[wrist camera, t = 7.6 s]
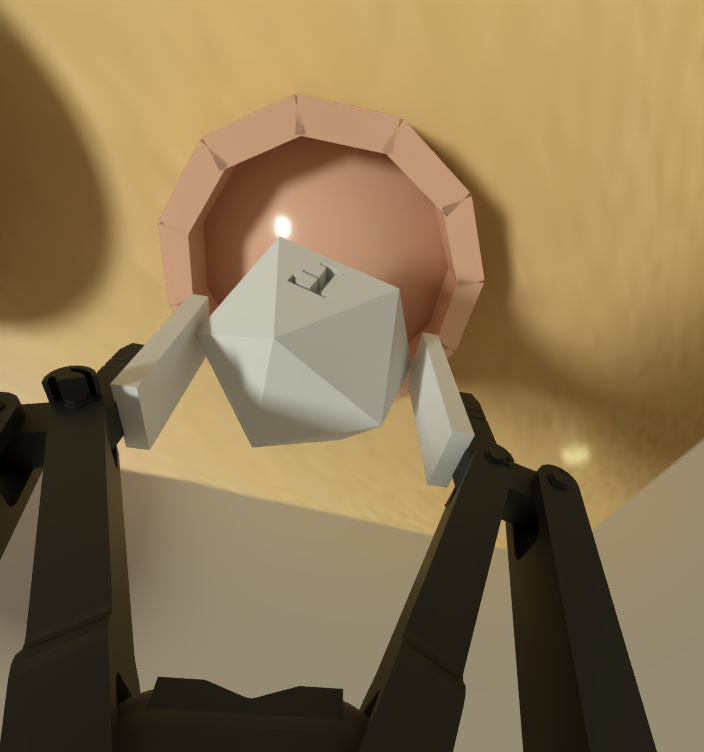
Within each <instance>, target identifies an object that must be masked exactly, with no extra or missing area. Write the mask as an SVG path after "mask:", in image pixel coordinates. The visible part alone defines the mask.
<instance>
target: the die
mask: <svg viewBox="0 0 704 752" xmlns="http://www.w3.org/2000/svg"><path fill="white" fill-rule="evenodd" d="M196 337H197V339H198V341H199V343H200V345H201V347H202V348H203V350H204V352H205V354H206V356H207V358H208V360H209V362H210V364H211V366H212V368H213V370H214V372H215V374H216V376H217V378H218V380H219V382H220V384H221V386H222V388H223V390H224V392H225V394H226V396H227V398H228V400H229V402H230V404H231V406H232V408H233V410H234V412H235V414H236V416H237V418H238V420H239V422H240V424H241V426H242V428H243V430H244V432H245V434H246V436H247V438H248V440H249V442H250V444H251V446H252V447H263V446H275V445H287V444H299V443H311V442H323V441H334V440H341V439H344V438H347V437H350V436H353V435H356V434H359V433H362V432H365V431H368V430H371V429H374V428H377V427H380V426H381V425H382V423H383V421H384V419H385V417H386V415H387V413H388V411H389V409H390V407H391V405H392V403H393V401H394V399H395V397H396V395H397V393H398V391H399V389H400V387H401V385H402V383H403V381H404V379H405V377H406V375H407V373H408V371H409V369H410V367H411V365H412V364H411V358H410V352H409V346H408V339H407V333H406V327H405V321H404V315H403V309H402V302H401V296H400V290H399V288H397V287H395V286H392V285H390V284H388V283H385V282H383V281H381V280H378V279H376V278H374V277H372V276H369V275H367V274H365V273H362V272H360V271H358V270H355V269H353V268H351V267H349V266H346V265H344V264H342V263H339V262H337V261H335V260H333V259H330V258H328V257H326V256H323V255H321V254H319V253H316V252H314V251H312V250H310V249H307V248H305V247H303V246H300V245H298V244H296V243H293V242H291V241H289V240H287V239H284V238H282V237H280V236H279V237H278V238H277V240H276V241H275V242H274V243H273V244H272V245H271V247H270V248H269V249H268V250H267V251H266V252H265V253H264V255H263V256H262V257H261V258H260V259H259V260H258V261H257V263H256V264H255V265H254V266H253V267H252V268H251V270H250V271H249V272H248V273H247V274H246V275H245V276H244V278H243V279H242V280H241V281H240V282H239V283H238V285H237V286H236V287H235V288H234V289H233V290H232V291H231V293H230V294H229V295H228V296H227V297H226V298H225V300H224V301H223V302H222V303H221V304H220V305H219V306H218V308H217V309H216V310H215V311H214V312H213V313H212V314H211V316H210V317H209V318H208V319H207V320H206V321H205V323H204V324H203V325H202V326H201V327H200V328H199V329H198V331H197V332H196Z"/></svg>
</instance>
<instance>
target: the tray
mask: <svg viewBox="0 0 704 752" xmlns="http://www.w3.org/2000/svg"><path fill="white" fill-rule="evenodd" d="M469 193H470V192H469V191H468V190H467V189H466V188H465V186H464V185H463V184H462V183H461V182H460V181H459V180H458V179H457V178H456V176H455V175H454V174H453V173H452V172H451V171H450V170H449V169H448V168H447V166H446V165H445V164H444V163H443V162H442V161H441V160H440V159H439V157H438V156H437V155H436V154H435V153H434V152H433V151H432V150H431V149H430V147H429V146H428V145H427V144H426V143H425V142H424V141H423V140H422V139H421V137H420V136H419V135H418V134H417V133H416V132H415V131H414V130H413V129H412V127H411V126H410V125H409V124H408V123H407V122H406V121H405V120H404V119H400V117H398V116H393V115H389V114H385V113H380V112H376V111H371V110H367V109H362V108H358V107H354V106H349V105H345V104H340V103H336V102H331V101H327V100H323V99H318V98H314V97H309V96H305V95H300V94H298V95H291V96H288V97H286V98H284V99H282V100H280V101H278V102H276V103H273V104H271V105H269V106H267V107H265V108H263V109H261V110H258V111H256V112H254V113H252V114H250V115H248V116H246V117H243V118H241V119H239V120H237V121H235V122H233V123H231V124H228V125H226V126H224V127H222V128H220V129H218V130H216V131H213V132H211V133H209V134H207V135H205V136H203V139H201V140H199V141H198V143H197V145H196V147H195V149H194V151H193V153H192V155H191V157H190V159H189V161H188V163H187V165H186V167H185V169H184V171H183V173H182V175H181V177H180V179H179V181H178V183H177V185H176V187H175V189H174V191H173V193H172V195H171V196H170V198H169V200H168V202H167V204H166V206H165V208H164V210H163V212H162V214H161V216H160V218H159V220H160V221H161V222H160V223H158V227H159V235H160V243H161V251H162V259H163V267H164V275H165V283H166V291H167V299H168V304H171V305H170V308H171V310H172V311H173V313H174V312H175V311H176V310H177V309H178V307H179V306H180V305H181V304H182V303H183V302H184V301H185V300H186V298H187V297H188V296H189V295H190V294H196V295H202V296H208V300H209V317H210V316H211V314H212V313H213V312H214V311H215V310H216V309H217V308H218V306H219V305H220V304H221V303H222V302H223V301H224V300H225V298H226V297H227V296H228V295H229V294H230V293H231V291H232V290H233V289H234V288H235V287H236V286H237V285H238V283H239V282H240V281H241V280H242V279H243V278H244V276H245V275H246V274H247V273H248V272H249V271H250V270H251V268H252V267H253V266H254V265H255V264H256V263H257V261H258V260H259V259H260V258H261V257H262V256H263V255H264V253H265V252H266V251H267V250H268V249H269V248H270V247H271V245H272V244H273V243H274V242H275V241H276V240H277V238H278V237H279V236H280V237H282V238H284V239H287V240H289V241H291V242H293V243H296V244H298V245H300V246H303V247H305V248H307V249H310V250H312V251H314V252H316V253H319V254H321V255H323V256H326V257H328V258H330V259H333V260H335V261H337V262H339V263H342V264H344V265H346V266H349V267H351V268H353V269H355V270H358V271H360V272H362V273H365V274H367V275H369V276H372V277H374V278H376V279H378V280H381V281H383V282H385V283H388V284H390V285H392V286H395V287H397V288H399V290H400V296H401V302H402V309H403V315H404V321H405V327H406V333H407V339H408V346H409V352H410V358H411V364H412V363H413V360H414V357H415V354H416V351H417V348H418V345H419V342H420V339H421V336H422V333H429V334H435V335H438V336H439V339H440V341H441V344H442V347H443V350H444V352H445V355H446V358H447V359H448V358H449V357H450V356H451V355H453V354H454V351H453V350H457V348H458V345H459V343H460V340H461V338H462V335H463V333H464V331H465V328H466V326H467V323H468V321H469V319H470V316H471V314H472V311H473V309H474V306H475V304H476V302H477V299H478V297H479V294H480V292H481V289H482V287H483V285H484V283H483V280H484V274H483V267H482V260H481V254H480V247H479V241H478V234H477V227H476V221H475V214H474V208H473V201H472V196H471V195H469ZM206 359H207V361H208V362H209V360H208V358H207V356H206ZM209 364H210V362H209ZM210 365H211V364H210ZM411 366H412V365H411ZM410 369H411V367H410ZM410 369H409V371H408V373H407V375H406V377H405V379H404V381H403V383H402V385H401V387H400V389H399V391H398V393H397V395H396V397H400V396H401V393H402V394H406V393H407V392H408V391H409V386H408V380H407V378H408V375H409V372H410ZM396 397H395V398H396Z"/></svg>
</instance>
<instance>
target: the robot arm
mask: <svg viewBox="0 0 704 752" xmlns="http://www.w3.org/2000/svg"><path fill="white" fill-rule="evenodd" d="M208 318H209V300H208V296H202V295H196V294H190V295H189V296H188V297H187V298H186V300H185V301H184V302H183V303H182V304H181V305H180V306H179V307H178V309H177V310H176V311H175V312H174V313H173V314H172V315H171V316H170V317H169V319H168V320H167V321H166V322H165V323H164V324H163V325H162V326H161V328H160V329H159V330H158V331H157V332H156V333H155V334H154V335H153V336H152V338H151V339H150V340H149V341H148V342H147V343H146V344H145V345H141V344H135V343H132V344H130V345H128V346H126V347H124V348H122V349H120V350H119V351H118V352H117V353H116V354H115V355H114V356H113V357H112V359H110V360H109V361H108V362H107V363H106V364H105V366H103V367H102V368H101V369H100V370H99V371H98V372H97V373H96V372H95V370H93V369H91V368H90V367H85V366H68V367H63V368H59V369H57V370H54V371H52V372H50V373H49V374H48V375H46V376H45V377H44V379H43V380H42V385H43V387H44V390H45V392H46V395H47V398H48V400H49V402H48V403H36V404H22V405H21V403H20V401H19V399H18V398H17V396H16V395H14V394H11V393H7V392H0V559H1V557H2V555H3V553H4V551H5V549H6V547H7V544H8V542H9V540H10V538H11V536H12V534H13V532H14V530H15V527H16V525H17V523H18V521H19V519H20V517H21V515H22V513H23V511H24V509H25V506H26V504H27V502H28V500H29V498H30V496H31V493H32V492H33V489H34V487H35V485H36V483H37V481H38V479H39V477H40V475H41V473H42V471H43V477H42V486H41V496H40V505H39V515H38V525H37V535H36V544H35V553H34V563H33V573H32V582H31V592H30V601H29V611H28V621H27V630H26V638H25V644H24V646H23V649H22V650H21V651H20V652H18V653H17V654H16V655H15V657H14V659H13V662H12V664H11V667H10V672H9V677H8V685H7V692H6V700H5V708H4V717H3V725H2V732H1V740H0V752H453V749H454V745H455V741H456V736H457V732H458V727H459V723H460V719H461V715H462V710H463V706H464V700H465V689H466V688H465V684H464V682H463V673H464V668H465V664H466V660H467V655H468V651H469V647H470V644H471V639H472V635H473V631H474V627H475V623H476V619H477V615H478V611H479V607H480V603H481V599H482V595H483V591H484V587H485V582H486V579H487V575H488V571H489V567H490V562H491V559H492V555H493V550H494V547H495V542H496V538H497V534H498V530H499V526H500V522H501V520H504V521H505V522H506V535H507V547H508V560H509V572H510V586H511V599H512V612H513V625H514V637H515V651H516V664H517V677H518V689H519V702H520V715H521V728H522V741H523V752H657V751H656V747H655V744H654V740H653V737H652V734H651V730H650V727H649V724H648V720H647V717H646V713H645V710H644V706H643V703H642V700H641V697H640V693H639V690H638V686H637V683H636V679H635V676H634V673H633V669H632V666H631V662H630V659H629V656H628V652H627V649H626V646H625V642H624V639H623V635H622V632H621V628H620V625H619V622H618V618H617V615H616V612H615V608H614V605H613V601H612V598H611V595H610V591H609V588H608V584H607V581H606V578H605V574H604V571H603V567H602V564H601V560H600V558H599V554H598V550H597V547H596V543H595V540H594V537H593V533H592V530H591V526H590V523H589V520H588V516H587V513H586V509H585V506H584V503H583V499H582V496H581V492H580V489H579V486H578V484H577V482H576V480H575V479H574V478H573V477H572V476H571V475H570V474H569V473H567V472H566V471H564V470H563V469H561V468H559V467H557V466H554V465H548V464H547V465H542V466H541V467H540V468H539V469H538V471H537V472H536V471H533V470H531V469H528V468H526V467H523V466H520V465H518V464H516V463H514V459H513V457H512V456H511V454H510V453H509V452H508V451H507V450H506V449H504V448H503V447H501V446H500V445H497V444H496V441H495V439H494V436H493V434H492V432H491V429H490V427H489V425H488V422H487V421H486V417H485V415H484V413H483V410H482V408H481V406H480V403H479V402H478V401H477V400H476V398H475V397H474V396H473V395H472V394H469V393H463V392H459V391H458V388H457V385H456V383H455V380H454V377H453V374H452V372H451V369H450V366H449V363H448V361H447V358H446V355H445V352H444V350H443V347H442V344H441V341H440V339H439V336H438V335H435V334H429V333H422V336H421V339H420V342H419V345H418V348H417V351H416V354H415V357H414V360H413V363H412V366H411V369H410V372H409V375H408V378H407V380H408V386H409V391H410V396H411V401H412V407H413V412H414V417H415V422H416V428H417V433H418V438H419V443H420V449H421V454H422V459H423V465H424V470H425V475H426V480H427V485H434V486H442V487H447V486H448V485H449V483H450V481H451V479H452V477H453V480H454V484H455V488H454V490H453V492H452V493H451V495H450V497H449V499H448V501H447V502H446V504H445V506H446V508H445V510H444V512H443V515H442V517H441V520H440V522H439V524H438V527H437V529H436V532H435V534H434V536H433V539H432V541H431V544H430V546H429V548H428V551H427V553H426V556H425V558H424V561H423V563H422V565H421V568H420V570H419V573H418V575H417V577H416V580H415V582H414V584H413V587H412V589H411V592H410V594H409V597H408V599H407V601H406V604H405V606H404V609H403V611H402V613H401V616H400V618H399V621H398V623H397V625H396V628H395V630H394V633H393V635H392V637H391V640H390V642H389V644H388V647H387V649H386V652H385V654H384V656H383V659H382V661H381V664H380V666H379V668H378V671H377V673H376V675H375V678H374V680H373V682H372V684H371V686H370V688H369V690H368V692H367V694H366V696H365V699H364V701H363V703H362V705H361V708H360V710H359V709H357V708H355V707H354V706H352V705H351V704H349V703H347V702H345V701H343V689H334V688H319V687H304V686H298V687H294V688H291V689H287V690H283V691H279V692H275V693H272V694H268V695H264V696H261V697H257V698H246V697H243V696H241V695H239V694H236V693H234V692H232V691H230V690H227V689H225V688H223V687H220V686H218V685H216V684H213V683H211V682H209V681H206V680H199V679H184V678H168V677H158V678H157V681H156V684H155V687H154V689H153V690H149V691H146V692H143V693H141V694H140V686H139V679H138V674H137V669H136V663H135V656H134V644H133V632H132V619H131V606H130V593H129V580H128V569H127V554H126V541H125V529H124V516H123V503H122V491H121V478H120V464H119V452H118V449H117V444H118V442H119V441H120V439H121V438H122V437H123V436H124V440H125V444H126V447H130V448H138V449H146V450H150V449H151V447H152V445H153V444H154V442H155V440H156V439H157V437H158V435H159V434H160V432H161V430H162V429H163V427H164V425H165V424H166V422H167V420H168V419H169V417H170V415H171V414H172V412H173V410H174V409H175V407H176V406H177V404H178V402H179V401H180V399H181V397H182V396H183V394H184V392H185V391H186V389H187V387H188V386H189V384H190V382H191V381H192V379H193V377H194V376H195V374H196V372H197V371H198V369H199V367H200V366H201V364H202V362H203V361H204V359H205V358H206V354H205V352H204V350H203V348H202V347H201V345H200V343H199V341H198V339H197V337H196V332H197V331H198V329H199V328H200V327H201V326H202V325H203V324H204V323H205V321H206V320H207V319H208Z"/></svg>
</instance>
